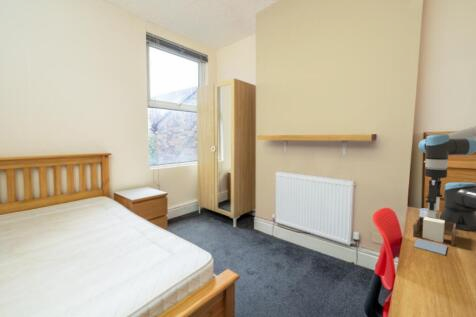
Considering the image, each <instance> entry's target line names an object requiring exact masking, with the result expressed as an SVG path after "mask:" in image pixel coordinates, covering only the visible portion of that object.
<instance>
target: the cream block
mask: <svg viewBox="0 0 476 317" xmlns="http://www.w3.org/2000/svg"><path fill="white" fill-rule="evenodd" d="M444 229H445V220H440V219H439V218H438V219H434V218H429V217H424V219H423V229H422V239H425V238H426V239H425V240H429V241H435V242H437V243H441V244H442V243H444V240H445V234H444Z"/></svg>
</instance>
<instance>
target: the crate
mask: <svg viewBox="0 0 476 317" xmlns="http://www.w3.org/2000/svg"><path fill="white" fill-rule="evenodd" d="M423 219H424V217H419V216H418V217H417V219H416V220H415V221H414V223H413V225H412V226H413V231H412V233H413V234H412V237H413V238H415V237H416V236H417V234H418V232H419V231H420V229H422V230H423ZM456 230H457V229H456V223H451V222H445V229H444V235H449V236H451V242H450V243H451V244H450V245H451V247H454V244H455V239H456Z"/></svg>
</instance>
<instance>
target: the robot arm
mask: <svg viewBox="0 0 476 317" xmlns="http://www.w3.org/2000/svg"><path fill="white" fill-rule="evenodd" d="M418 149H419V151H420V152H421V153H425V160H424V161H423V163H424V165H425V168H424V176H425V177H427V178H430V179H429V180H428V193H427V194H428V196H427V199H426V200H425V203H427V208H428V212H427V217H433V218H436V212H437V211H438V212H439V211H440V203H441V202H440V201H441V200H440V199H441V198H443V197H444V199H443V206H444V207H443V210H442V212H441V214H440V215H439V216H438V219H440V220H445V222H451V223H456V230H461V231H469V232H470V231H475V232H476V182H465V181H464V182H462V181H461V182H459V181H458V182H453V181H452V182H447V183H446V184H445V185H444V194H442V193H441V187H442V181H441V180H442V179H445V178H447V177H448V168H449V156H467V155H473V154H475V153H476V125H474V126H471V127H467V128H463V129H460V130H458V131H457V130H456V131H455V132H451V133H447V134H428V135H427V137H426V138H423V139H421V140H420V142H418ZM443 195H444V196H443Z"/></svg>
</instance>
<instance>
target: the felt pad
mask: <svg viewBox="0 0 476 317" xmlns="http://www.w3.org/2000/svg"><path fill="white" fill-rule="evenodd" d="M412 247H413V248H417V249H420V250H424V251H427V252H431V253H435V254H437V255H441V256H446V255H447V254H446V253H447V249H448V245H445V244H442V243H439V242H433V241H431V240H427V239H423V238H422V239H421V238H417V239H416V241H415V242H414V244H413V245H412Z"/></svg>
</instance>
